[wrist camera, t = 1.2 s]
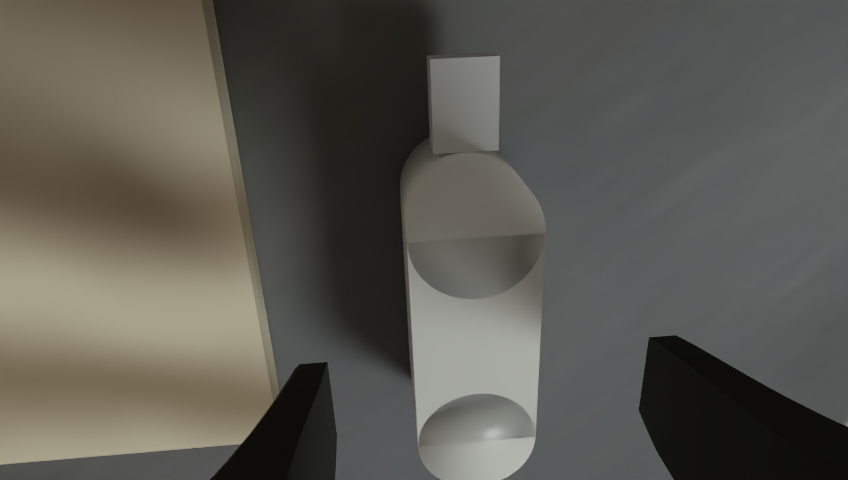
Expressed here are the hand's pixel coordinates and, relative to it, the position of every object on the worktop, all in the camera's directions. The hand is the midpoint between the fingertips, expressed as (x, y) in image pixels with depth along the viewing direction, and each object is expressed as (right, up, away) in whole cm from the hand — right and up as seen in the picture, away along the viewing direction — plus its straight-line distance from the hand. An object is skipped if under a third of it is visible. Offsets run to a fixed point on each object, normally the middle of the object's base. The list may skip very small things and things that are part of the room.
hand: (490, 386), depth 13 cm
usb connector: (-1, +3, +5) cm, 6 cm away
